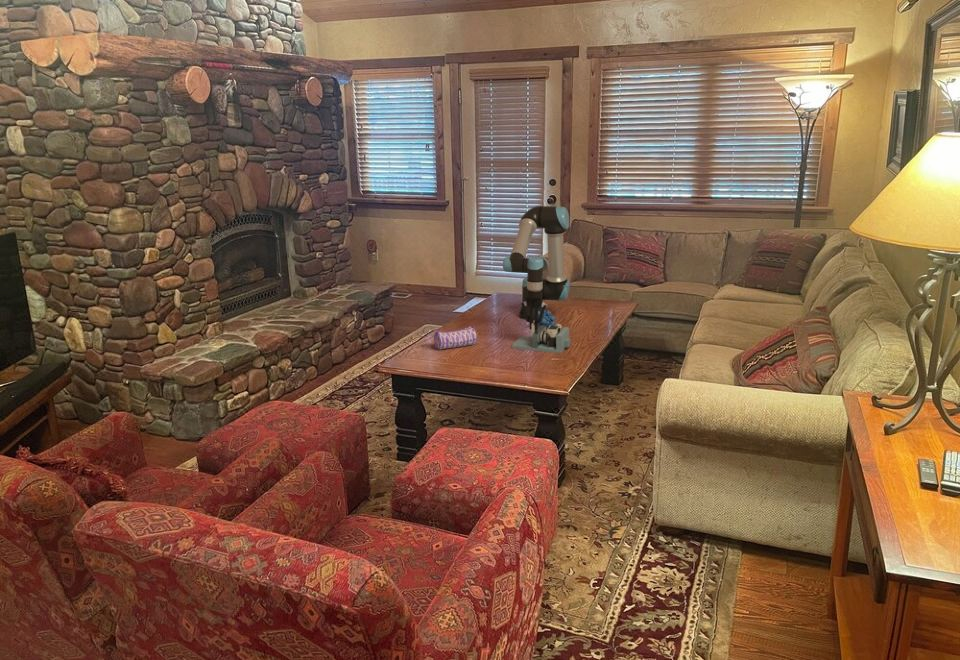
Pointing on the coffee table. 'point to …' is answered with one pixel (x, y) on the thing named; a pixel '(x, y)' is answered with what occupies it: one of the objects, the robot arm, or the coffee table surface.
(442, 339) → the pencil case
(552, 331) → the camera
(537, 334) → the sliding jaw
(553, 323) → the blue knobbly thick disc
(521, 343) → the vise
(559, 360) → the coffee table surface
